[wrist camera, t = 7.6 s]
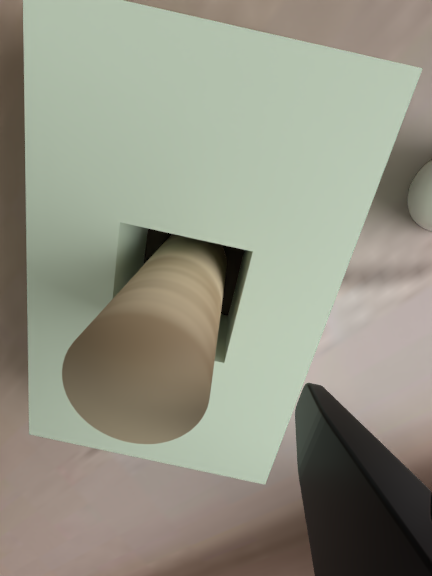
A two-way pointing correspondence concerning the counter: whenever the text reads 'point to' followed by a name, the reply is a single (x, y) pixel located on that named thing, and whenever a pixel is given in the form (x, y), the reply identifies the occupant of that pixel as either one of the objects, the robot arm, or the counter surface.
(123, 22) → the hole block
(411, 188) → the white rounded piece
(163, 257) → the tan wooden cylinder
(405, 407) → the counter surface
